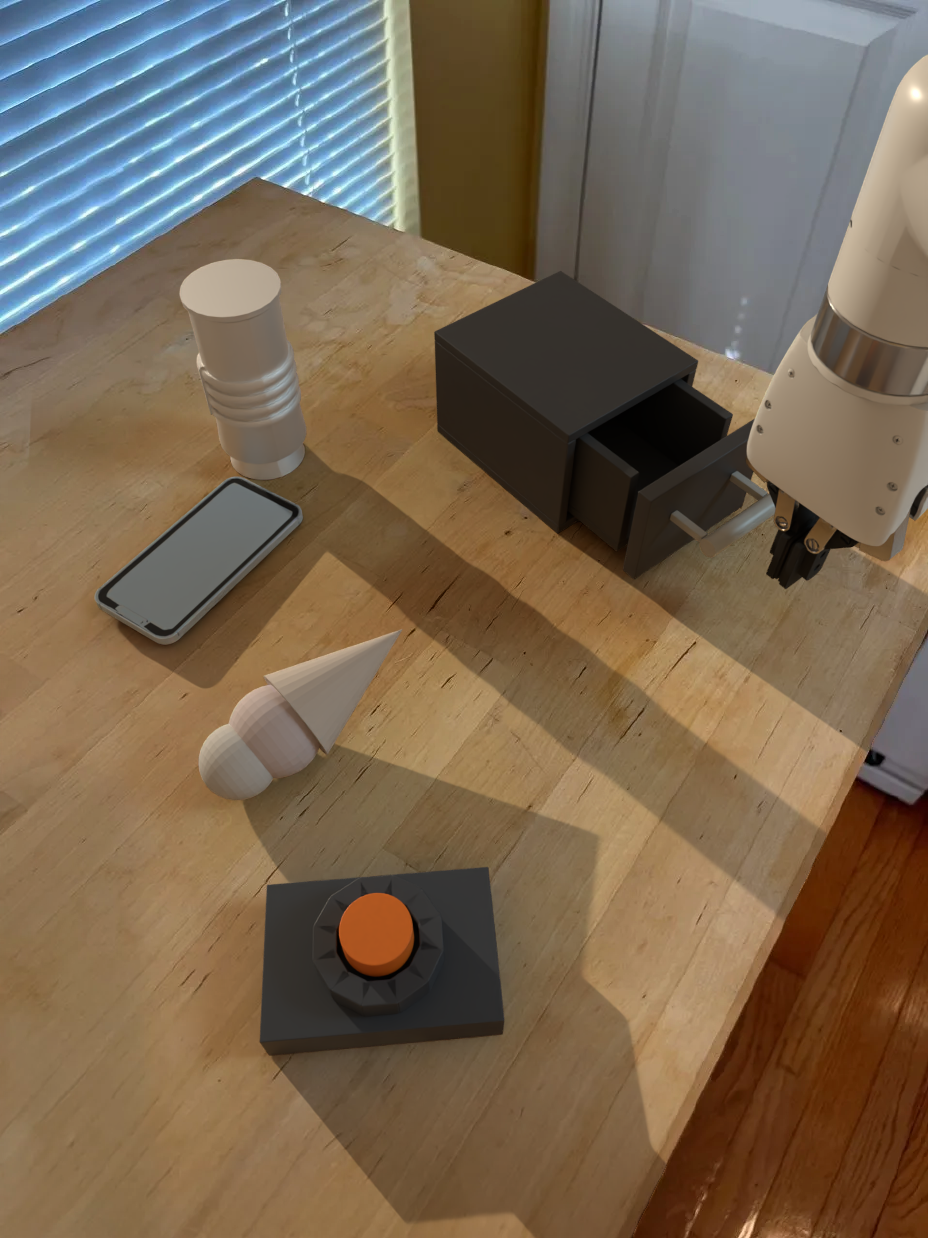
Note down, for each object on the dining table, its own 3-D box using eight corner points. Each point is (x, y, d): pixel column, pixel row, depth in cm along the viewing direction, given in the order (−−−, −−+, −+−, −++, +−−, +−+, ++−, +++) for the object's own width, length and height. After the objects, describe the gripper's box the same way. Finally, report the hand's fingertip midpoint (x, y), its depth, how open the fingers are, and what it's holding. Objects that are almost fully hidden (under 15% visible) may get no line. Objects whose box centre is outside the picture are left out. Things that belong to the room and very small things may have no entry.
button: (412, 902, 48) (410, 889, 47) (415, 973, 46) (414, 962, 45) (342, 908, 48) (338, 895, 47) (342, 980, 46) (338, 968, 45)
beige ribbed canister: (219, 433, 77) (173, 266, 65) (304, 419, 78) (274, 252, 66) (227, 491, 72) (180, 324, 61) (317, 475, 73) (288, 308, 62)
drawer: (786, 539, 68) (819, 459, 62) (678, 617, 64) (701, 539, 58) (615, 413, 77) (628, 332, 70) (508, 475, 72) (513, 394, 66)
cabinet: (675, 460, 74) (699, 360, 67) (557, 534, 70) (568, 435, 62) (551, 370, 81) (560, 270, 74) (437, 431, 77) (433, 331, 69)
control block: (487, 885, 53) (489, 852, 50) (502, 1034, 48) (505, 1010, 45) (274, 903, 53) (260, 871, 49) (268, 1056, 48) (252, 1033, 44)
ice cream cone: (418, 665, 62) (235, 816, 58) (362, 592, 61) (172, 740, 57) (446, 668, 56) (244, 836, 53) (385, 587, 55) (174, 752, 51)
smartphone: (308, 509, 70) (166, 644, 62) (309, 518, 71) (170, 652, 63) (232, 472, 73) (87, 597, 65) (234, 481, 73) (91, 606, 65)
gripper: (1073, 378, 44) (922, 614, 59) (819, 242, 52) (740, 483, 66) (983, 446, 42) (848, 676, 56) (727, 292, 49) (666, 532, 63)
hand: (790, 571), depth 61 cm, fingers closed
